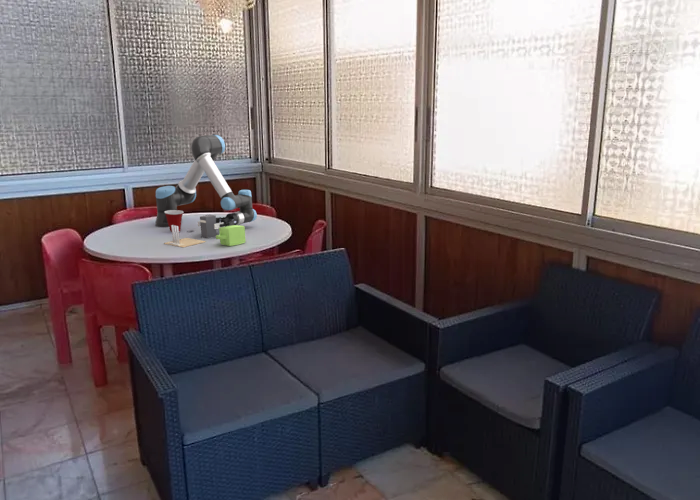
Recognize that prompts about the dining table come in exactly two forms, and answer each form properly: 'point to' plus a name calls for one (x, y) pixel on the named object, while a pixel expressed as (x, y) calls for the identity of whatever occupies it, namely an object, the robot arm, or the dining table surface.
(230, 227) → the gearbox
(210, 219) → the plug housing
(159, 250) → the dining table surface
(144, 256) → the dining table surface
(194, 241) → the board
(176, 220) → the plastic cup
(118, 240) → the dining table surface
